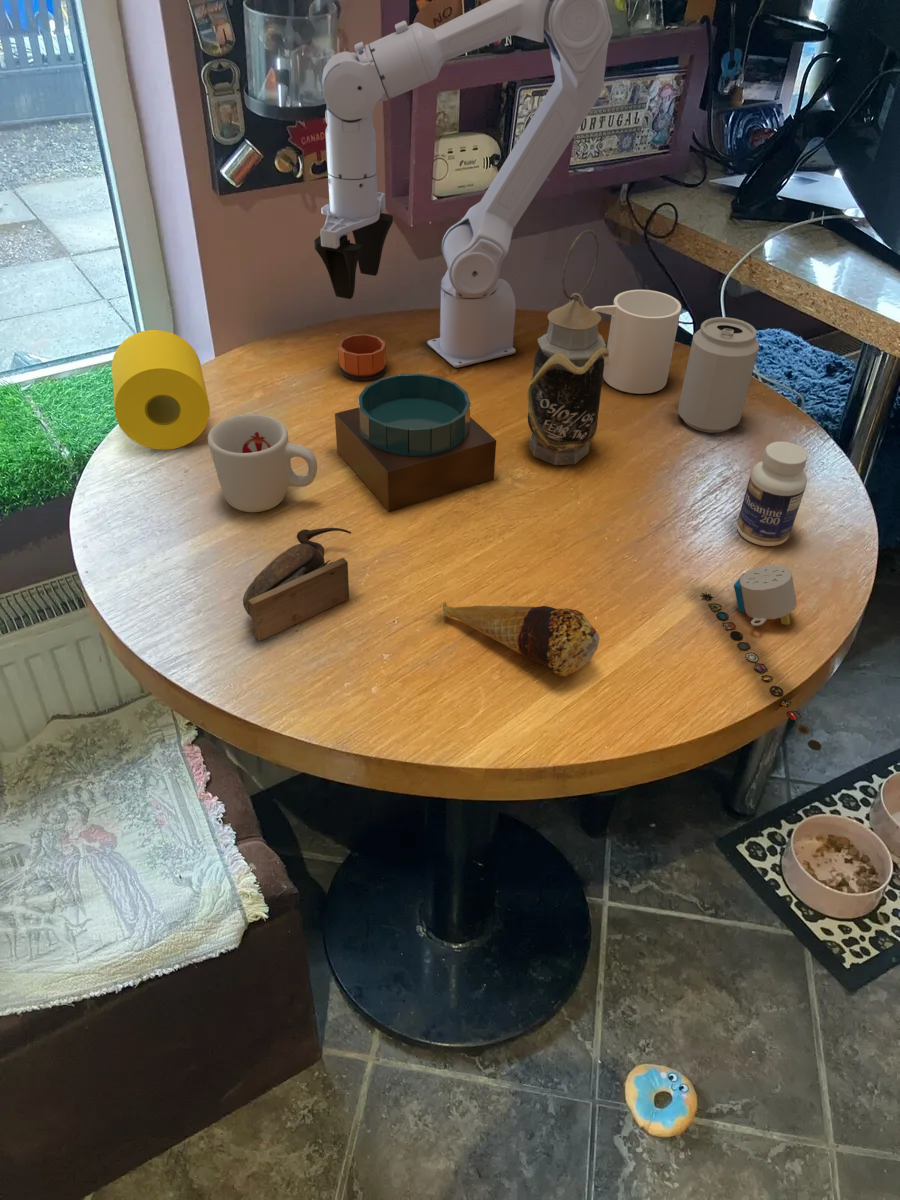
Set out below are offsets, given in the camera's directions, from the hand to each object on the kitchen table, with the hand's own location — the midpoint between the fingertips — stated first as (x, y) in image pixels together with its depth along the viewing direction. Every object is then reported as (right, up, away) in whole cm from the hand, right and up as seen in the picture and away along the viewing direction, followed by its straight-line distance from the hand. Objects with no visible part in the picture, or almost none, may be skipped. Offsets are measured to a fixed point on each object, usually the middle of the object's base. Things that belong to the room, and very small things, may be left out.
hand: (357, 285), depth 119 cm
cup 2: (+34, -12, +3) cm, 36 cm away
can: (+43, -18, -4) cm, 47 cm away
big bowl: (+8, -21, -17) cm, 28 cm away
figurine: (0, -39, -34) cm, 52 cm away
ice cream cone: (+11, -41, -33) cm, 53 cm away
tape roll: (-20, -19, -16) cm, 32 cm away
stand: (+8, -25, -13) cm, 29 cm away
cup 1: (-7, -29, -19) cm, 36 cm away
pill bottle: (+44, -33, -21) cm, 59 cm away
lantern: (+24, -23, -10) cm, 35 cm away
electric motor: (+39, -40, -30) cm, 63 cm away
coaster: (+1, -10, +3) cm, 10 cm away
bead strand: (+40, -46, -36) cm, 70 cm away
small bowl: (+1, -10, +3) cm, 10 cm away
